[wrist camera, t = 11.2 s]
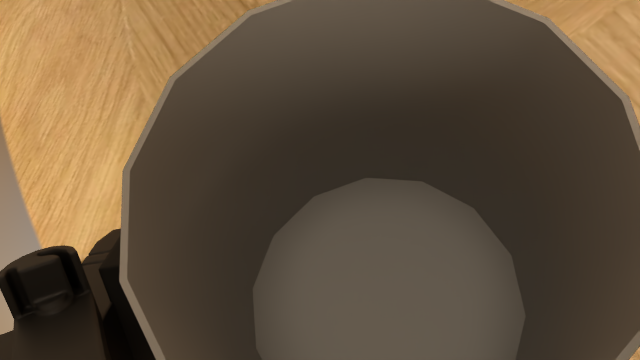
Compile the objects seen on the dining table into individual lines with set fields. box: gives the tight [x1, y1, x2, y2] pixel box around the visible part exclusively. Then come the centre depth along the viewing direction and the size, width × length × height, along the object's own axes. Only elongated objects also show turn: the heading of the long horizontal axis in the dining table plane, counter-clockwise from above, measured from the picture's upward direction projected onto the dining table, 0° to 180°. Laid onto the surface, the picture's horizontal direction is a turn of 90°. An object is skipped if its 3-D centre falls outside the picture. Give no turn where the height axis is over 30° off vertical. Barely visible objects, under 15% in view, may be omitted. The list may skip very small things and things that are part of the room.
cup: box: [119, 0, 640, 360], centre depth 14 cm, size 8×8×10 cm
